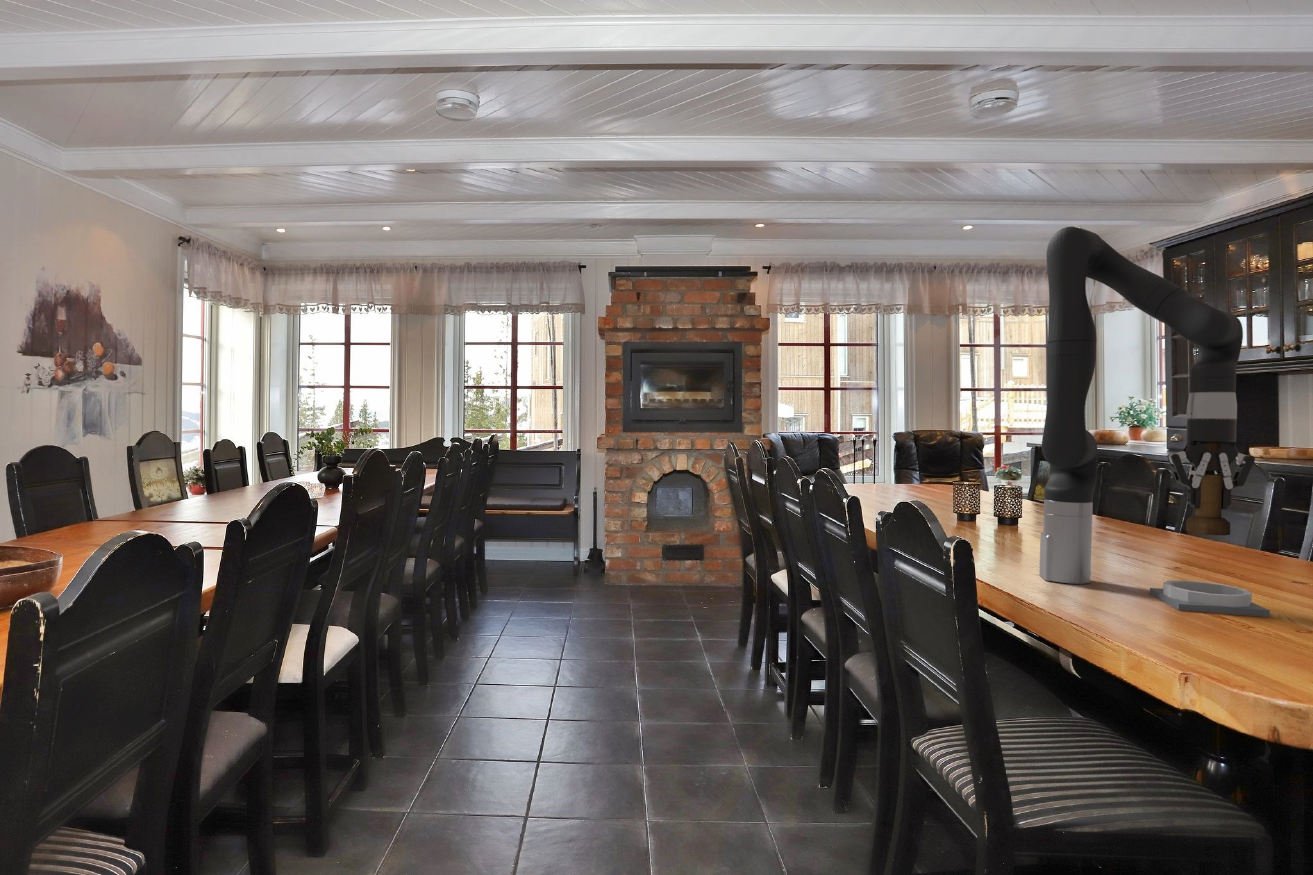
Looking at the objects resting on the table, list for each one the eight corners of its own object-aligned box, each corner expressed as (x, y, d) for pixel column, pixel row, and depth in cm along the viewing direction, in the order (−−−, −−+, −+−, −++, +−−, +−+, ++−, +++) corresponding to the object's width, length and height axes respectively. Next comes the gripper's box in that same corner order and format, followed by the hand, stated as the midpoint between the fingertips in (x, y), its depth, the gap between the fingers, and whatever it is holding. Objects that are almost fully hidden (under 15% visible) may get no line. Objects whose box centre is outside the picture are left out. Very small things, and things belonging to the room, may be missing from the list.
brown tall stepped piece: (1189, 533, 139) (1192, 437, 138) (1183, 529, 144) (1186, 436, 144) (1233, 536, 136) (1236, 438, 135) (1225, 532, 141) (1229, 437, 141)
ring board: (1178, 610, 135) (1179, 592, 135) (1149, 593, 149) (1150, 577, 149) (1269, 616, 132) (1270, 599, 132) (1231, 599, 145) (1231, 583, 145)
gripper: (1176, 416, 138) (1173, 508, 138) (1266, 417, 134) (1263, 512, 134) (1160, 416, 145) (1157, 504, 145) (1245, 417, 141) (1242, 507, 142)
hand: (1208, 507), depth 140 cm, fingers closed on brown tall stepped piece, 4 cm apart
